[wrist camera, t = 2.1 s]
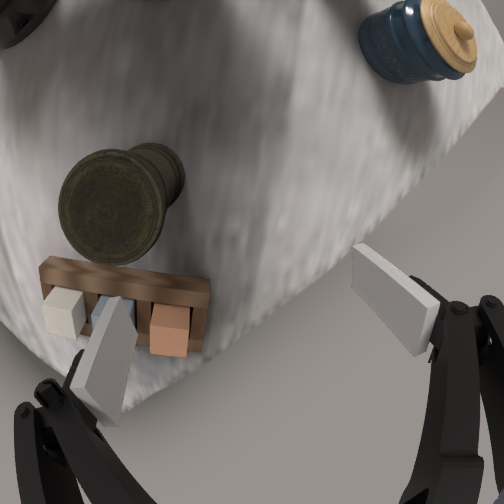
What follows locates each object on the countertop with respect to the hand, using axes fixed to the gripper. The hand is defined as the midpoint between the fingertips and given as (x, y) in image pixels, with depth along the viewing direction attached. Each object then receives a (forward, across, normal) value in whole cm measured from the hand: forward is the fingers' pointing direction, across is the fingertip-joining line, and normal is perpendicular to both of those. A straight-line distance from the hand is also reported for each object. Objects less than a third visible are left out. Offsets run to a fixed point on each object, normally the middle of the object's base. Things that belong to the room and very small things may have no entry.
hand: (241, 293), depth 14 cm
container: (+23, -8, +5) cm, 25 cm away
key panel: (+23, -18, -11) cm, 31 cm away
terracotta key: (+21, -10, -14) cm, 27 cm away
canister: (+23, +30, +21) cm, 44 cm away
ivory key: (+21, -25, -9) cm, 34 cm away
